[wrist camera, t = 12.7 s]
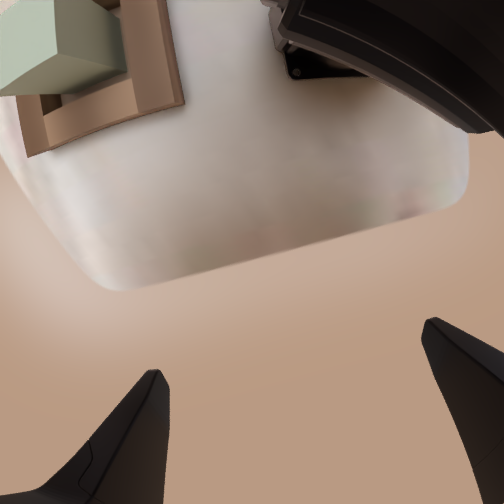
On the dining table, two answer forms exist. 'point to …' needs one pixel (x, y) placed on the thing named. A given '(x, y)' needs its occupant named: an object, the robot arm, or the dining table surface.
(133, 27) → the socket block
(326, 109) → the dining table surface
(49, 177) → the dining table surface
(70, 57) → the peg
